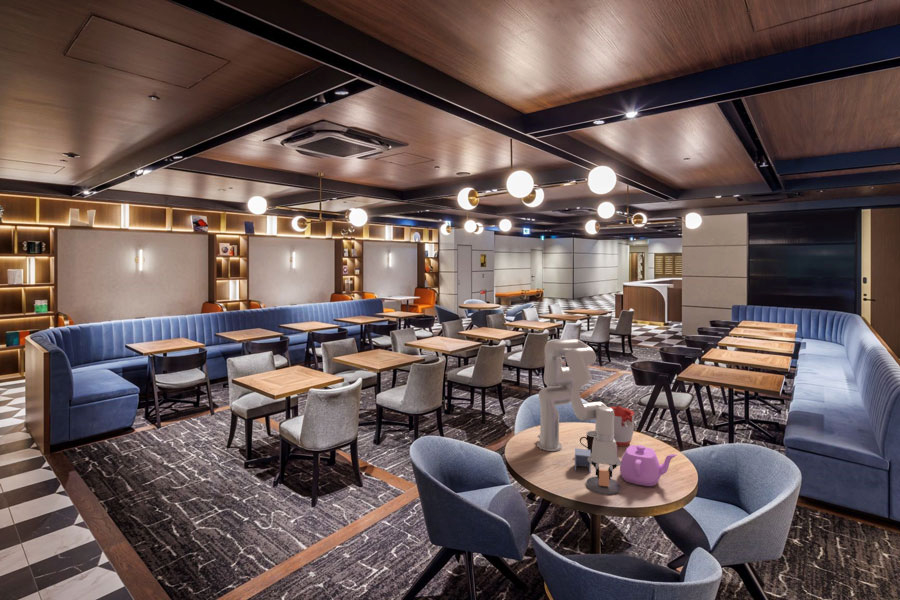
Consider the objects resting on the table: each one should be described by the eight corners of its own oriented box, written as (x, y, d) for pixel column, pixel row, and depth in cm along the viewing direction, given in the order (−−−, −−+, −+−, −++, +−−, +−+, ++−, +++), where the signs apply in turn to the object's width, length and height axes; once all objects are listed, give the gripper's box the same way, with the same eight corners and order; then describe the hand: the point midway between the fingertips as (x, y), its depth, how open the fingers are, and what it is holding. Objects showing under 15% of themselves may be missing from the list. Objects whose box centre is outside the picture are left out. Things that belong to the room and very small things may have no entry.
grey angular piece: (574, 464, 214) (575, 448, 214) (590, 466, 212) (590, 449, 212) (574, 471, 208) (574, 454, 207) (590, 472, 206) (590, 456, 205)
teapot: (615, 487, 193) (616, 453, 191) (622, 467, 211) (623, 436, 210) (675, 500, 182) (676, 464, 181) (676, 478, 200) (678, 445, 199)
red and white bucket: (615, 450, 230) (616, 412, 228) (597, 437, 246) (597, 402, 245) (642, 447, 233) (643, 410, 231) (622, 435, 250) (623, 400, 248)
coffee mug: (603, 450, 229) (604, 431, 229) (603, 457, 221) (604, 438, 220) (580, 447, 233) (580, 429, 232) (579, 454, 225) (579, 435, 224)
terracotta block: (598, 483, 194) (598, 468, 195) (608, 484, 192) (608, 469, 193) (599, 485, 190) (599, 470, 191) (609, 486, 189) (609, 471, 190)
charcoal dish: (579, 482, 197) (579, 480, 197) (604, 476, 202) (604, 474, 202) (602, 497, 184) (602, 495, 184) (627, 490, 190) (628, 488, 190)
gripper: (584, 437, 190) (583, 479, 191) (626, 441, 185) (625, 484, 187) (584, 431, 197) (583, 471, 199) (624, 434, 193) (623, 476, 194)
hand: (603, 477), depth 193 cm, fingers closed on terracotta block, 4 cm apart
